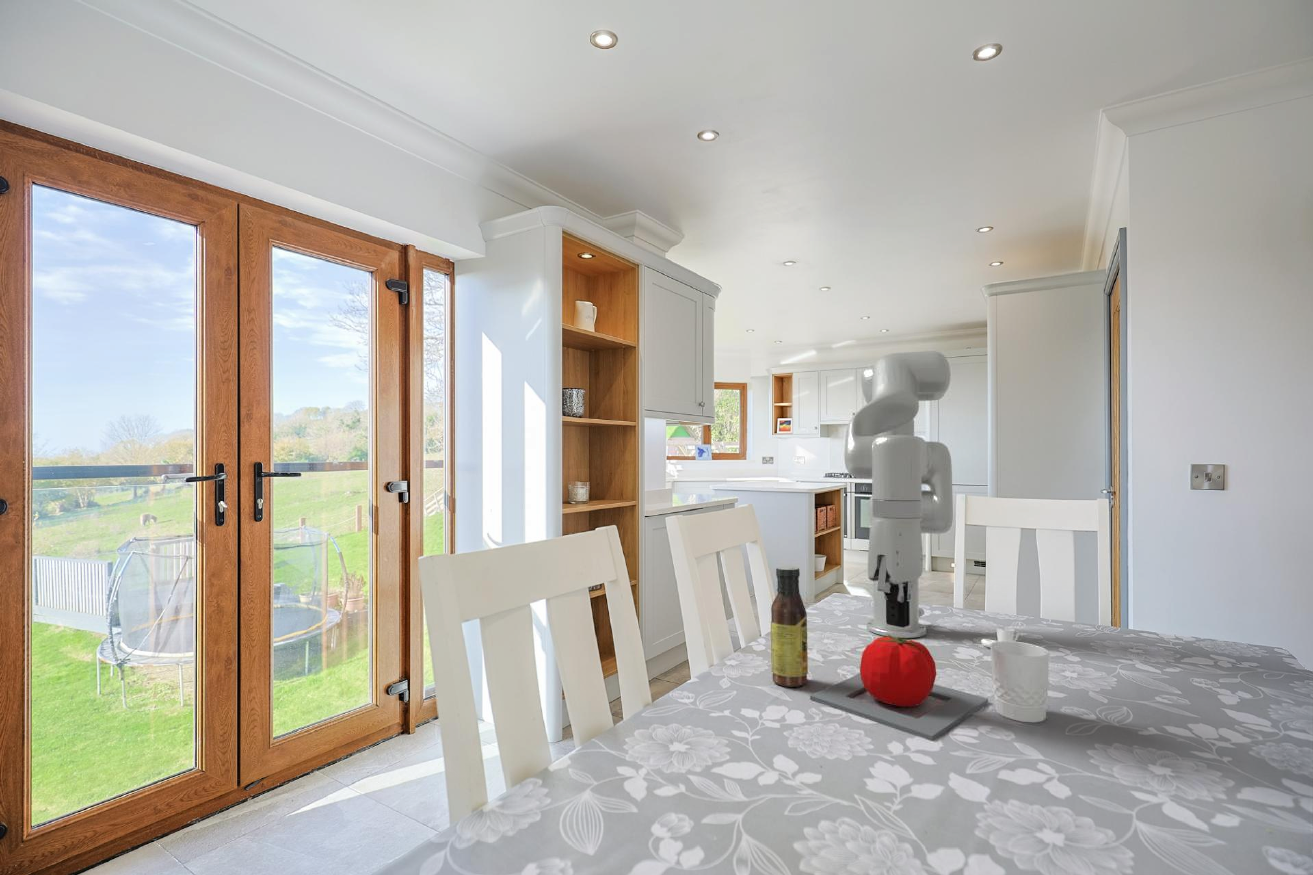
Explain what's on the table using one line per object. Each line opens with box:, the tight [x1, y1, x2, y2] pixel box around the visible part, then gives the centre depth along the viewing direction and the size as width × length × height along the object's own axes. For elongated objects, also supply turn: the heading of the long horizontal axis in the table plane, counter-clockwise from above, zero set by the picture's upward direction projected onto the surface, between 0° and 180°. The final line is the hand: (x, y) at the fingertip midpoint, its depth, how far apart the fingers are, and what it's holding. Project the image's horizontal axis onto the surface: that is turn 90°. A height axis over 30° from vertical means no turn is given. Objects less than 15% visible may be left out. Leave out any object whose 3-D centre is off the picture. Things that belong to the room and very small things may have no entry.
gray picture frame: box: [809, 673, 989, 741], centre depth 103 cm, size 20×20×1 cm
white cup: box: [989, 641, 1050, 724], centre depth 98 cm, size 8×8×10 cm
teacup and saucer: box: [980, 626, 1019, 649], centre depth 132 cm, size 9×8×4 cm
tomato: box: [859, 634, 937, 708], centre depth 103 cm, size 12×12×10 cm
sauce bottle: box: [770, 565, 809, 688], centre depth 112 cm, size 6×6×20 cm
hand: (897, 624), depth 103 cm, fingers closed
